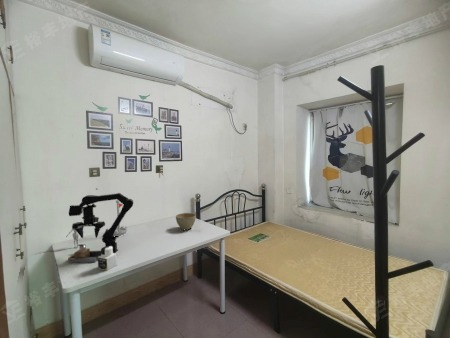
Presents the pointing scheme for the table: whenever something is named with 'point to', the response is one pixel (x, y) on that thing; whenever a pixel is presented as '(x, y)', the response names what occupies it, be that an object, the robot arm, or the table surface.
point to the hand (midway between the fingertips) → (89, 237)
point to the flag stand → (119, 230)
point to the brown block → (82, 253)
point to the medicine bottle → (107, 258)
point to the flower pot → (185, 220)
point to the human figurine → (75, 236)
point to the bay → (91, 258)
